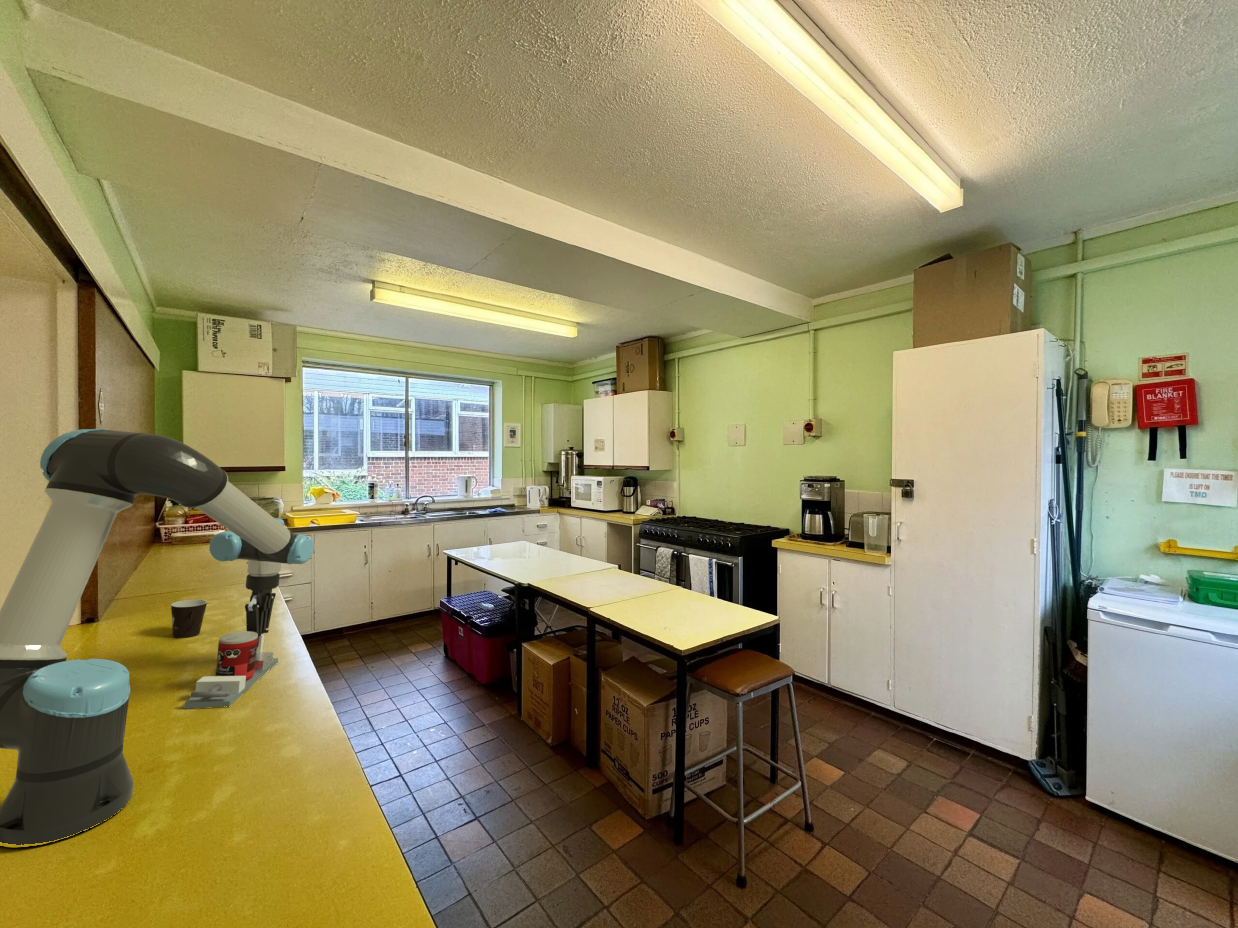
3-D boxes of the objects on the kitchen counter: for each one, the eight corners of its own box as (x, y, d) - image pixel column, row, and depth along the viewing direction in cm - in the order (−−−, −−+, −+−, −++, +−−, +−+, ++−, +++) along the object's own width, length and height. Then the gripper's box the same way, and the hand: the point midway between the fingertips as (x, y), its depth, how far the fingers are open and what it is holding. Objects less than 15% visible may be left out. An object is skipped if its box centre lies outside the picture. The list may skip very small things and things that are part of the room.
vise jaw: (262, 671, 131) (263, 660, 131) (223, 672, 129) (224, 660, 129) (272, 662, 136) (273, 652, 137) (235, 663, 134) (236, 652, 134)
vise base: (228, 707, 115) (230, 688, 115) (183, 708, 113) (185, 689, 113) (277, 663, 140) (279, 647, 140) (241, 663, 138) (243, 647, 138)
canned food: (208, 679, 124) (213, 636, 124) (244, 669, 131) (248, 628, 131) (224, 688, 120) (228, 643, 121) (260, 677, 128) (264, 635, 128)
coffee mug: (174, 630, 157) (177, 599, 157) (208, 629, 160) (211, 598, 161) (158, 643, 146) (162, 610, 146) (195, 641, 150) (198, 609, 150)
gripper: (259, 567, 142) (251, 649, 142) (236, 578, 129) (227, 667, 129) (288, 568, 144) (280, 649, 143) (268, 579, 131) (259, 667, 131)
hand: (255, 657), depth 136 cm, fingers closed
